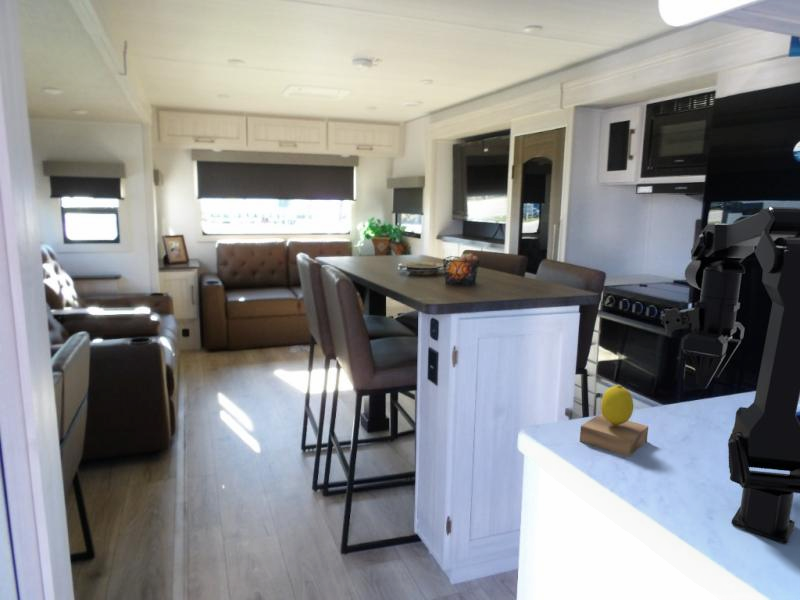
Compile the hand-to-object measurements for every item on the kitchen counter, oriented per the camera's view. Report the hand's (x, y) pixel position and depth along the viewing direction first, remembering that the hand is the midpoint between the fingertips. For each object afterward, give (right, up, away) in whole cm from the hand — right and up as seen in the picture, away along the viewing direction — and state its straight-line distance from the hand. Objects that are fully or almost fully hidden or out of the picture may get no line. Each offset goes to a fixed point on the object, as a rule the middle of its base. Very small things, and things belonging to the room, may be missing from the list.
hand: (708, 382), depth 99 cm
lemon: (-15, -9, +4) cm, 18 cm away
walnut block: (-15, -12, +4) cm, 20 cm away
